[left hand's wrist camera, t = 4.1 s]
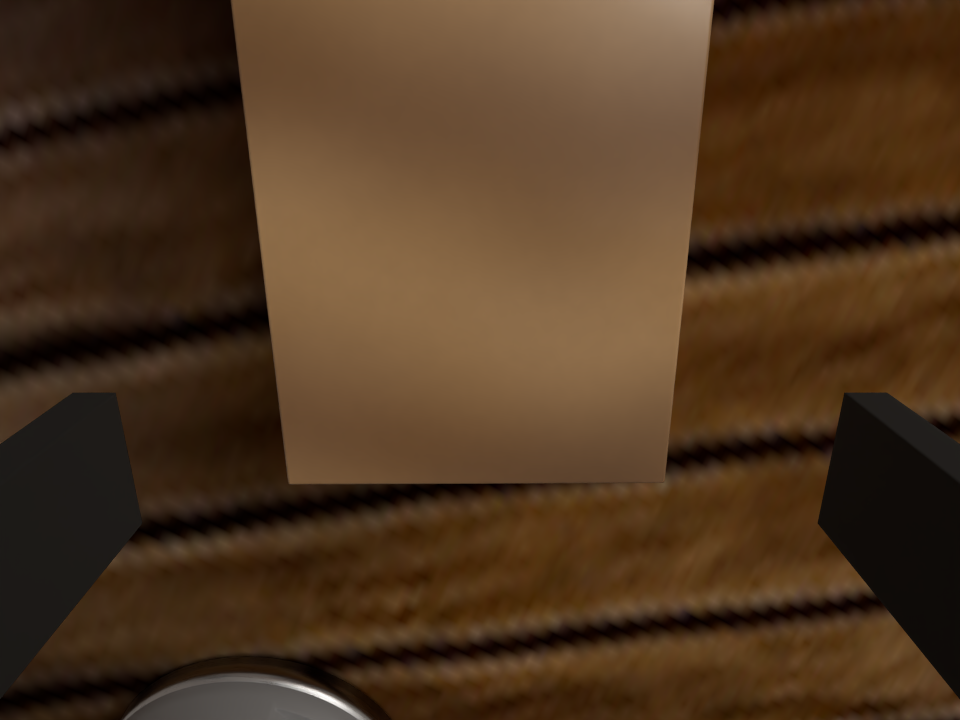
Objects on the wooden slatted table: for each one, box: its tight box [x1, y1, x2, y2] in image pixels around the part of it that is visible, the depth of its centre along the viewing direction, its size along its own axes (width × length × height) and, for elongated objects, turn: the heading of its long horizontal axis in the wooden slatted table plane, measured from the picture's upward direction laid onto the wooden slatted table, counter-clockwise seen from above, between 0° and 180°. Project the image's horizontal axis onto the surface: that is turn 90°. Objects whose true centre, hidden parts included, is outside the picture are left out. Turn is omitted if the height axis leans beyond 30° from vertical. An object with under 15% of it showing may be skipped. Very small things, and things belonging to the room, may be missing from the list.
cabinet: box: [231, 0, 714, 484], centre depth 20 cm, size 20×10×9 cm, turn 0°
